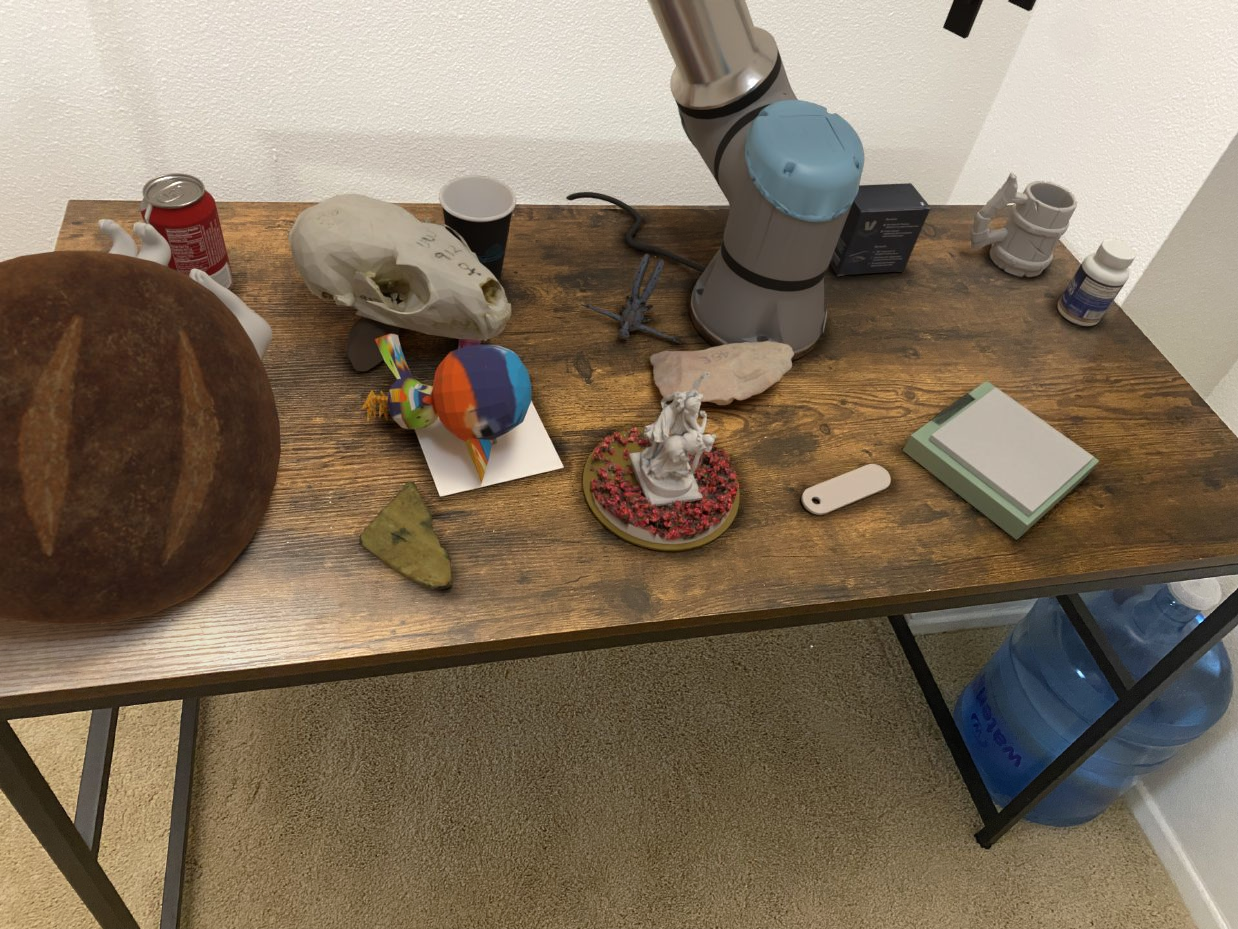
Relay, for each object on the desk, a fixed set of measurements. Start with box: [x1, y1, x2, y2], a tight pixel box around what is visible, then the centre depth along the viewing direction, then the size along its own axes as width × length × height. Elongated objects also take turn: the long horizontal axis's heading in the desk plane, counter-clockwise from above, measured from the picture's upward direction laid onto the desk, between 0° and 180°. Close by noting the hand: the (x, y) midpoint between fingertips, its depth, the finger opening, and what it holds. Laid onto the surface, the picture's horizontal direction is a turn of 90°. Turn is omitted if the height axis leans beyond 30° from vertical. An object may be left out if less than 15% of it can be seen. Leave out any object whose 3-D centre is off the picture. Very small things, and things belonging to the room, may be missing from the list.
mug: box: [969, 171, 1078, 278], centre depth 116 cm, size 8×12×12 cm, turn 91°
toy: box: [361, 334, 533, 484], centre depth 84 cm, size 10×14×15 cm
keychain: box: [800, 463, 892, 516], centre depth 90 cm, size 10×1×3 cm
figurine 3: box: [582, 372, 741, 552], centre depth 82 cm, size 15×15×14 cm
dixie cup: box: [438, 174, 517, 283], centre depth 99 cm, size 8×8×11 cm
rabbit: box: [97, 218, 274, 362], centre depth 76 cm, size 12×21×25 cm
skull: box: [288, 193, 512, 342], centre depth 89 cm, size 14×24×10 cm, turn 57°
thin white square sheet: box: [414, 400, 565, 498], centre depth 88 cm, size 12×12×2 cm
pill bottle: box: [1057, 238, 1137, 327], centre depth 111 cm, size 5×5×10 cm
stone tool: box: [649, 341, 794, 406], centre depth 96 cm, size 9×5×15 cm
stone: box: [359, 481, 454, 591], centre depth 79 cm, size 12×7×2 cm, turn 24°
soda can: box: [139, 172, 234, 291], centre depth 93 cm, size 7×7×12 cm
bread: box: [0, 250, 282, 625], centre depth 67 cm, size 28×27×9 cm
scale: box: [902, 380, 1100, 540], centre depth 94 cm, size 14×14×3 cm
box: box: [829, 182, 932, 277], centre depth 112 cm, size 9×6×10 cm, turn 104°
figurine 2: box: [579, 253, 681, 344], centre depth 100 cm, size 12×10×5 cm
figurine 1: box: [345, 292, 403, 372], centre depth 94 cm, size 6×4×12 cm
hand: (988, 19), depth 100 cm, fingers open, 13 cm apart
